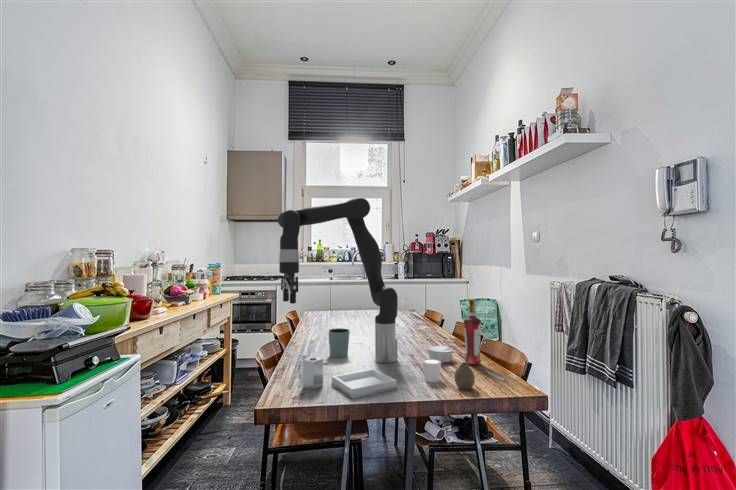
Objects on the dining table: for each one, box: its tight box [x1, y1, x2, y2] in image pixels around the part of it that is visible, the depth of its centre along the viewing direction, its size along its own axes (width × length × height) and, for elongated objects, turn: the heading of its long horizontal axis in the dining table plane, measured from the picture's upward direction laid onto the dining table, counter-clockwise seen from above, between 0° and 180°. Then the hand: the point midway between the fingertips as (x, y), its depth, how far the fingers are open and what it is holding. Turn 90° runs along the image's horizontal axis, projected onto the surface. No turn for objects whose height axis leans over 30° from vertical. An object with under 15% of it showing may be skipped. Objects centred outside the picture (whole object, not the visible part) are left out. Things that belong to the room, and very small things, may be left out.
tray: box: [331, 368, 398, 399], centre depth 134 cm, size 18×16×3 cm
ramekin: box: [427, 345, 454, 364], centre depth 168 cm, size 11×11×5 cm
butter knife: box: [485, 370, 506, 381], centre depth 153 cm, size 1×27×3 cm
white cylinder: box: [422, 358, 442, 383], centre depth 141 cm, size 7×7×7 cm
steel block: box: [302, 356, 324, 391], centre depth 134 cm, size 5×5×10 cm
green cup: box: [328, 328, 350, 359], centre depth 177 cm, size 10×10×12 cm
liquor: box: [463, 298, 482, 366], centre depth 162 cm, size 7×7×28 cm
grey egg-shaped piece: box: [454, 362, 476, 391], centre depth 132 cm, size 7×7×9 cm
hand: (289, 302), depth 145 cm, fingers open, 8 cm apart
